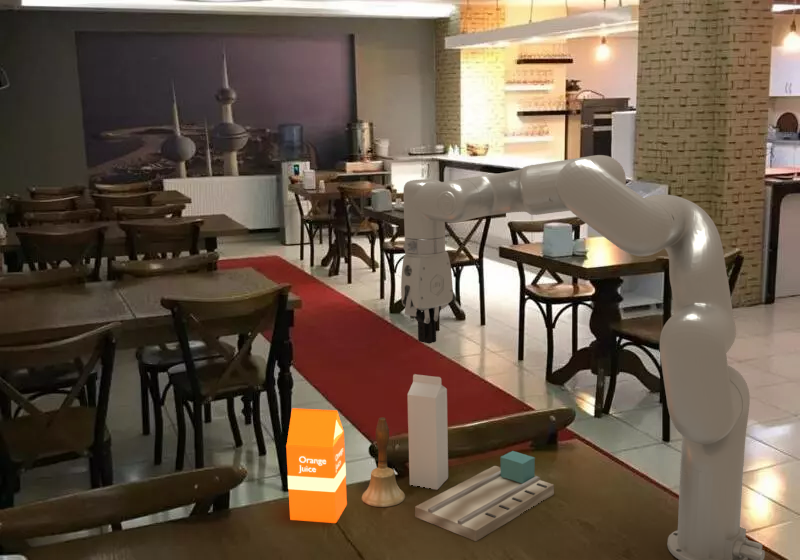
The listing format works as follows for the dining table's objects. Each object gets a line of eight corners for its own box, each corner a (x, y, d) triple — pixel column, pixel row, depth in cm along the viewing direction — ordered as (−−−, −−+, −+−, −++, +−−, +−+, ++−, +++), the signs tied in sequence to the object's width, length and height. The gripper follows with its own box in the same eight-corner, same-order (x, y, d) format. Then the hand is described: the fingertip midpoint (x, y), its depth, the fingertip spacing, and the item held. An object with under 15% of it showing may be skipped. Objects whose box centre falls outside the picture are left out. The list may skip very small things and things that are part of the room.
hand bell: (376, 485, 169) (374, 408, 166) (413, 493, 164) (411, 415, 161) (353, 501, 162) (350, 422, 159) (390, 511, 157) (388, 429, 154)
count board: (553, 494, 163) (553, 481, 162) (476, 541, 145) (475, 527, 145) (494, 474, 172) (494, 462, 172) (415, 516, 155) (414, 503, 154)
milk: (421, 474, 173) (418, 369, 169) (448, 478, 171) (447, 372, 167) (409, 485, 168) (406, 378, 164) (437, 490, 166) (435, 381, 162)
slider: (534, 476, 165) (534, 457, 164) (522, 483, 162) (522, 463, 162) (512, 469, 169) (512, 450, 168) (500, 476, 166) (500, 457, 165)
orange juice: (336, 523, 153) (331, 417, 149) (289, 520, 155) (283, 415, 151) (347, 504, 161) (343, 403, 157) (302, 501, 163) (297, 401, 159)
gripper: (412, 253, 151) (414, 353, 154) (466, 243, 161) (467, 336, 165) (382, 249, 156) (385, 346, 159) (436, 240, 166) (438, 331, 170)
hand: (427, 341), depth 162 cm, fingers closed
